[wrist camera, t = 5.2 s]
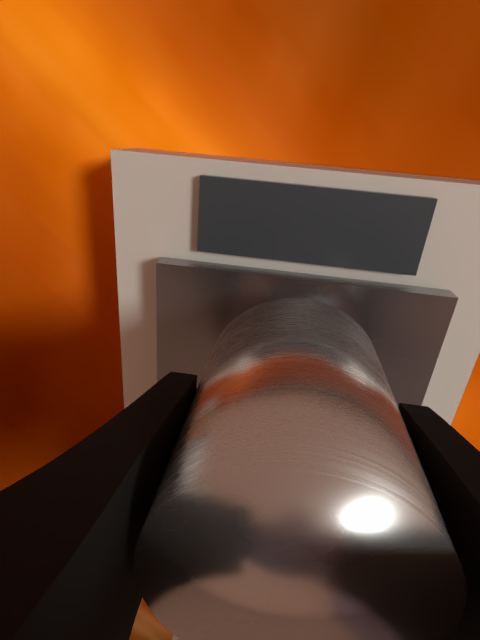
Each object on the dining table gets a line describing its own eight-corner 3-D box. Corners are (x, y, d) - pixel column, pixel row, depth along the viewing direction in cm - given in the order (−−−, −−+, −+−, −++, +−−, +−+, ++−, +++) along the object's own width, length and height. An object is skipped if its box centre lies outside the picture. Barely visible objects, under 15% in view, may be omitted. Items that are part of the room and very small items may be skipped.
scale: (385, 510, 17) (400, 565, 15) (147, 473, 18) (126, 520, 16) (499, 182, 12) (550, 192, 9) (139, 148, 12) (105, 149, 10)
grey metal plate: (362, 553, 15) (365, 568, 15) (162, 520, 16) (158, 533, 15) (449, 290, 11) (458, 297, 10) (162, 256, 11) (155, 262, 11)
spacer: (404, 319, 9) (535, 522, 4) (349, 456, 11) (396, 710, 6) (223, 281, 9) (145, 434, 4) (199, 422, 11) (126, 643, 6)
